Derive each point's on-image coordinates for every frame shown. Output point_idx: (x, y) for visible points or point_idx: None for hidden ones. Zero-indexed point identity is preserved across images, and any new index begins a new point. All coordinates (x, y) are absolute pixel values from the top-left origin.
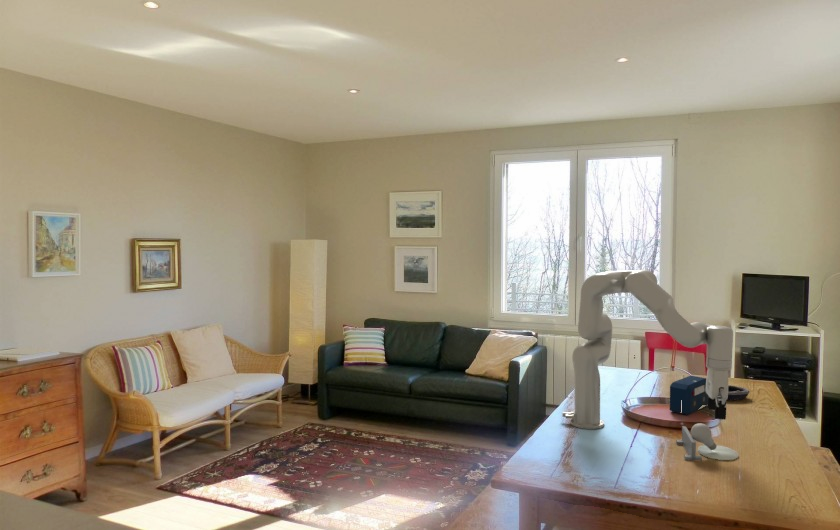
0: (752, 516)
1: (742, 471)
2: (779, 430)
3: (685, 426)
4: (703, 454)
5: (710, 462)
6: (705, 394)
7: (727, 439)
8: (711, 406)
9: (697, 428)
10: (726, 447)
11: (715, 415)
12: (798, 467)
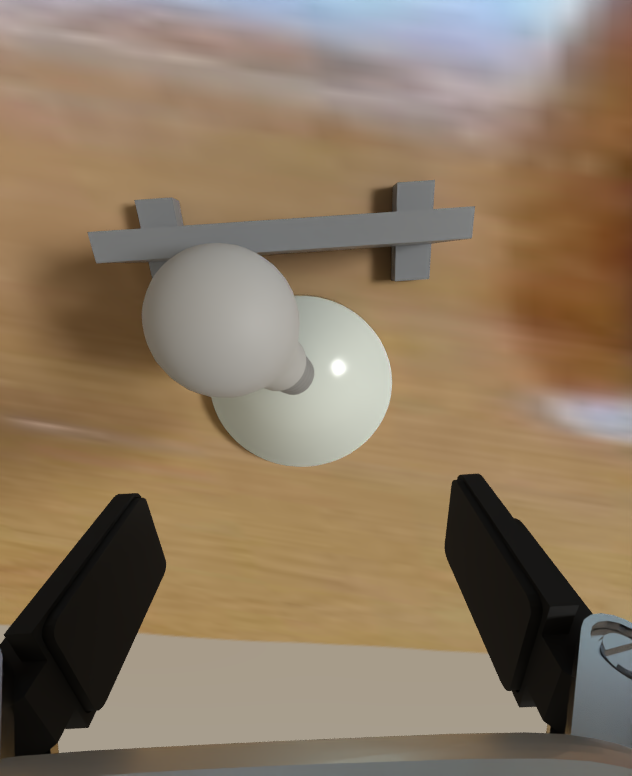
0: None
1: (113, 446)
2: None
3: (469, 234)
4: None
5: None
6: None
7: (507, 455)
8: (465, 528)
9: (151, 294)
10: (366, 435)
11: (100, 518)
12: (242, 609)
